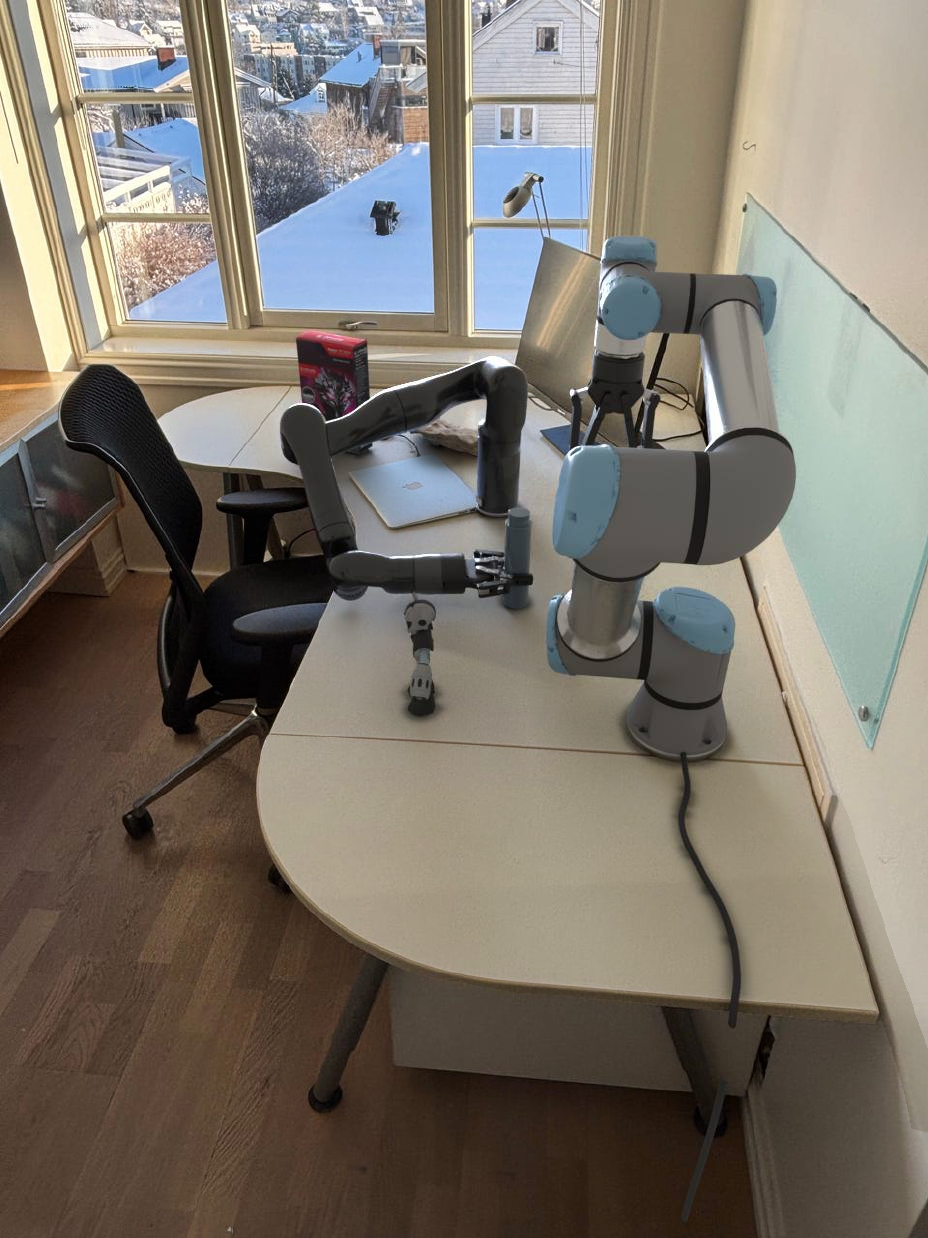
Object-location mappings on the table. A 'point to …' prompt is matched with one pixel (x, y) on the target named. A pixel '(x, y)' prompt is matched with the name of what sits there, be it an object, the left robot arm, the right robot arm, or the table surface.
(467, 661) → the table surface
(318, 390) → the graphics card box
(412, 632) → the robot
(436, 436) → the stone
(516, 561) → the blue-grey bottle
